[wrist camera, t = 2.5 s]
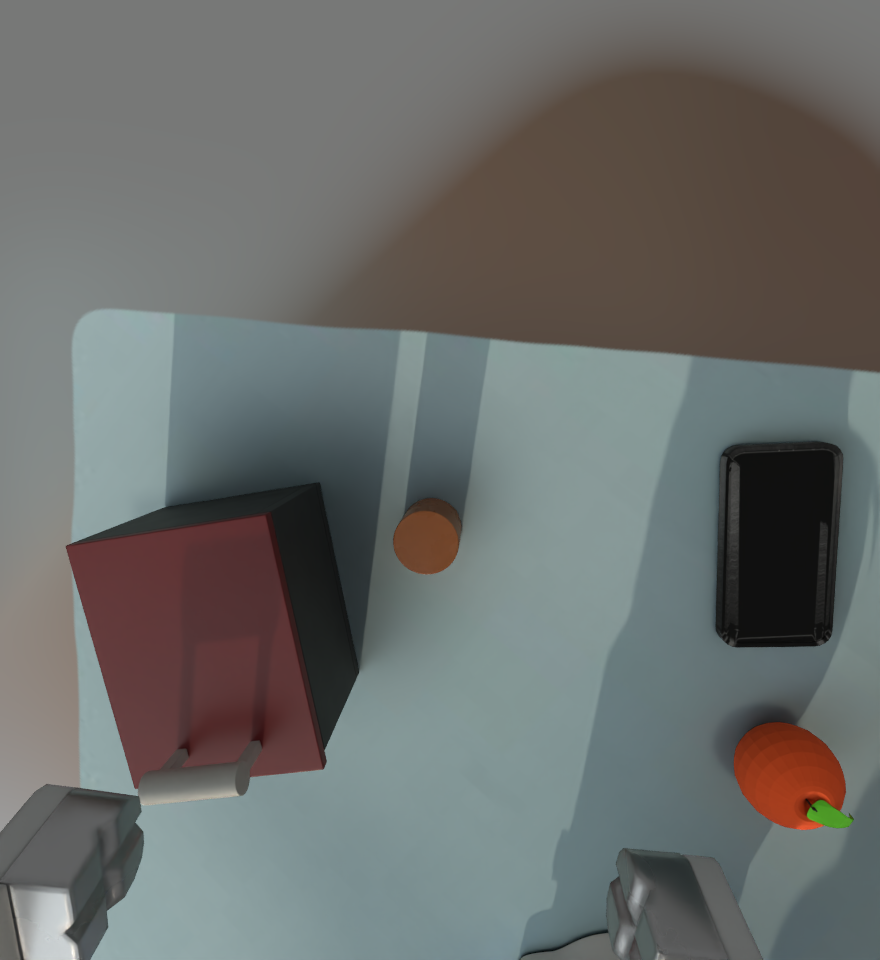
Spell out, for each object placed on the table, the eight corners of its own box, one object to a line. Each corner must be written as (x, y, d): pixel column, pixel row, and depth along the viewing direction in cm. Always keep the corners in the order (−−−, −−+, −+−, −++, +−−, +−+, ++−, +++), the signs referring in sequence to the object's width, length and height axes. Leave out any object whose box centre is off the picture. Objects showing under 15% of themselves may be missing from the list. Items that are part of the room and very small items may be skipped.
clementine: (841, 736, 44) (908, 804, 37) (788, 804, 45) (844, 881, 38) (751, 688, 44) (800, 746, 37) (701, 756, 45) (740, 825, 38)
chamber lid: (327, 761, 37) (303, 817, 32) (141, 781, 38) (92, 837, 33) (271, 511, 34) (236, 532, 29) (74, 542, 35) (10, 566, 31)
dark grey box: (359, 672, 46) (324, 750, 37) (210, 690, 48) (139, 770, 38) (319, 482, 44) (271, 511, 34) (164, 507, 45) (74, 542, 36)
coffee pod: (449, 564, 44) (445, 583, 40) (394, 543, 44) (384, 560, 40) (470, 510, 43) (468, 524, 39) (414, 489, 43) (405, 501, 39)
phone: (721, 647, 42) (727, 447, 40) (715, 640, 43) (720, 445, 41) (832, 646, 41) (846, 442, 39) (824, 639, 43) (836, 440, 40)
